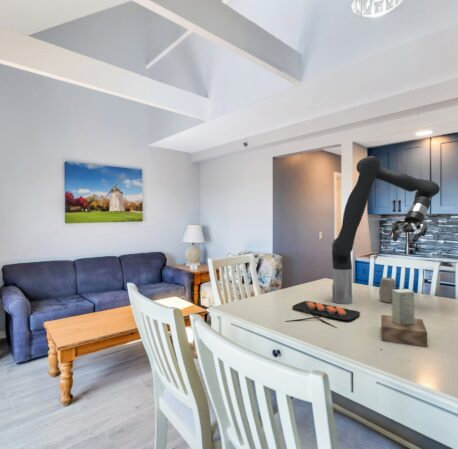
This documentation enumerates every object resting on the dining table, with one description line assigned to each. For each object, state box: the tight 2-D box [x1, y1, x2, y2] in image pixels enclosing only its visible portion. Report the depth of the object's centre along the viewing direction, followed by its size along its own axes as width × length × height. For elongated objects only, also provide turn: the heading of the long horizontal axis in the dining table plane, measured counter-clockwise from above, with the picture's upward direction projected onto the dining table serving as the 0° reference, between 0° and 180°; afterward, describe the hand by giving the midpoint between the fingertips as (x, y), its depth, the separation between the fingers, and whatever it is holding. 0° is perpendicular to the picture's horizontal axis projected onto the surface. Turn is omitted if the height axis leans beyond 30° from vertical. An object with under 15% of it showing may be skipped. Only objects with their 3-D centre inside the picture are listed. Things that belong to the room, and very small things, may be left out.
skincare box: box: [391, 288, 415, 325], centre depth 117 cm, size 6×4×12 cm
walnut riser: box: [380, 314, 428, 347], centre depth 117 cm, size 14×14×5 cm
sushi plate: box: [284, 300, 361, 329], centre depth 141 cm, size 29×30×4 cm
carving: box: [378, 277, 397, 304], centre depth 161 cm, size 6×8×12 cm
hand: (403, 241), depth 144 cm, fingers open, 8 cm apart
